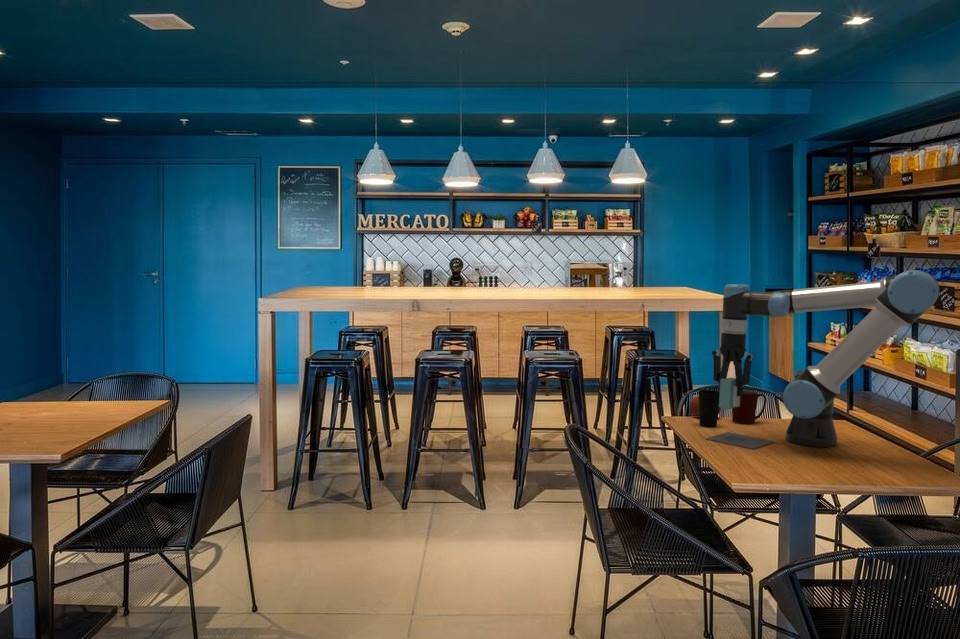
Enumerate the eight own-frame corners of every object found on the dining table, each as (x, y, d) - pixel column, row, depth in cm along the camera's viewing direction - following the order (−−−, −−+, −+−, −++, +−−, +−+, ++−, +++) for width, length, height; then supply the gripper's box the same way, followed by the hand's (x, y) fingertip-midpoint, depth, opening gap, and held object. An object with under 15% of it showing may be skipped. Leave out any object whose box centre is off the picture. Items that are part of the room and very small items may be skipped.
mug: (760, 420, 267) (761, 390, 266) (769, 425, 258) (770, 394, 257) (726, 419, 267) (728, 389, 266) (734, 424, 258) (736, 393, 257)
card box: (718, 406, 235) (720, 379, 234) (729, 404, 240) (730, 377, 239) (729, 408, 232) (730, 380, 231) (739, 406, 237) (741, 378, 236)
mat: (727, 433, 245) (727, 432, 245) (774, 442, 233) (774, 441, 233) (706, 439, 235) (706, 438, 235) (753, 449, 223) (753, 448, 223)
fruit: (720, 415, 273) (721, 394, 272) (720, 421, 263) (721, 399, 262) (690, 413, 276) (691, 392, 275) (689, 419, 266) (690, 397, 265)
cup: (721, 425, 257) (723, 391, 256) (717, 429, 250) (719, 394, 249) (698, 422, 260) (700, 389, 259) (694, 426, 254) (696, 392, 253)
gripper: (704, 330, 238) (700, 401, 240) (753, 335, 225) (748, 410, 227) (715, 329, 243) (711, 399, 245) (764, 334, 231) (760, 407, 233)
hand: (729, 404), depth 236 cm, fingers closed on card box, 4 cm apart
